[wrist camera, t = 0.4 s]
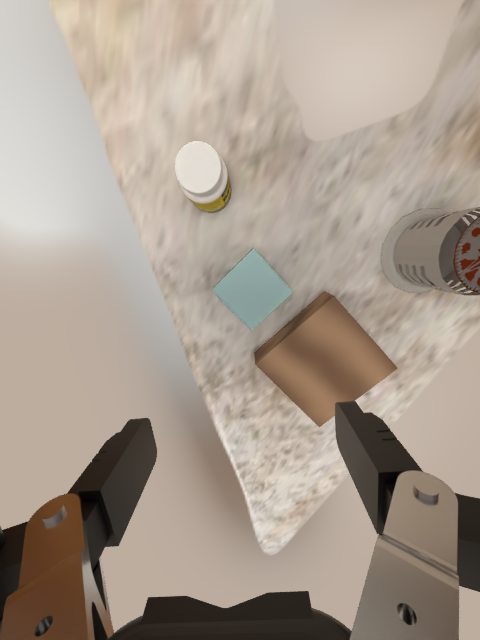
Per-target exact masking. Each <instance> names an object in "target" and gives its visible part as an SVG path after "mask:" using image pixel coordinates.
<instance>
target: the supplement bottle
mask: <svg viewBox="0 0 480 640" xmlns="http://www.w3.org/2000/svg"><path fill="white" fill-rule="evenodd" d="M175 174H176V177H177V179H178V183H179V186H180V188H181V190H182V192H183V193H184V195H185V196H186V197H187V198H188V199H189V200H190V201H192V202H193V203H194V204H195V205H196V206H197V207H198V208H199V209H200V210H202V211H204V212H208V213H214V212H217V211H220V210H221V209H223V208H224V207H225V206H226V205H227V203H228V201H229V199H230V196H231V185H230V181H229V176H228V172H227V168H226V165H225V163H224V161H223V159H222V158H221V156H220V155H219V154H218V153H217V152H216V151H215V149H214V148H213V147H212V146H210V145H209V144H207V143H205V142H202V141H193V142H190V143H187V144H186V145H184V146H183V147H182V148H181V149H180V150H179V152H178V154H177V156H176V159H175Z"/></svg>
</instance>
